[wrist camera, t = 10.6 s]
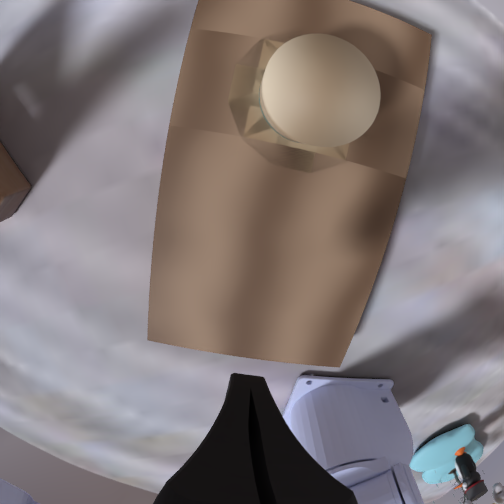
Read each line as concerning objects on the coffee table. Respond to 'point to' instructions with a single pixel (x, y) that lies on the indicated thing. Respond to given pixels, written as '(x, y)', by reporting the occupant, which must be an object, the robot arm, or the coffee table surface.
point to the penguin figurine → (455, 463)
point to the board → (277, 188)
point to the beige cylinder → (319, 91)
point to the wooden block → (10, 185)
